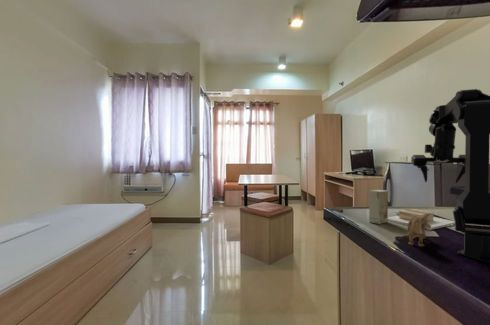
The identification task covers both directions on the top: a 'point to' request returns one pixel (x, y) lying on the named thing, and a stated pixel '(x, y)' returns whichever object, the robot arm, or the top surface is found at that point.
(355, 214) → the top surface
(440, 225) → the build plate
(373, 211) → the skincare box
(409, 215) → the oak pedestal
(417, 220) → the lion figurine
